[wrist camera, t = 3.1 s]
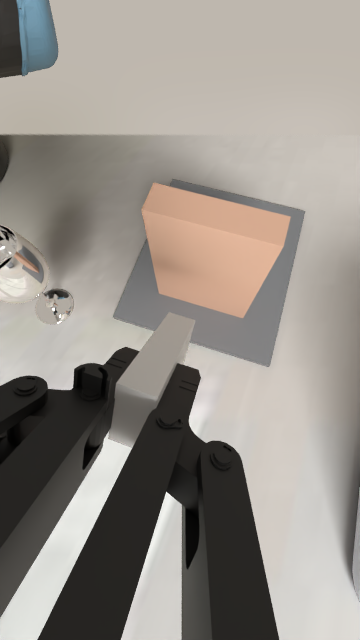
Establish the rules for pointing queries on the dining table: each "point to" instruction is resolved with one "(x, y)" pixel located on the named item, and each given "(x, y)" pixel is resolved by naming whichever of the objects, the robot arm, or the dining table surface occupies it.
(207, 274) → the peach rectangular block
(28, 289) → the wineglass
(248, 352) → the mat
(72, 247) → the dining table surface
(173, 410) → the robot arm
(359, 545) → the plastic bottle
